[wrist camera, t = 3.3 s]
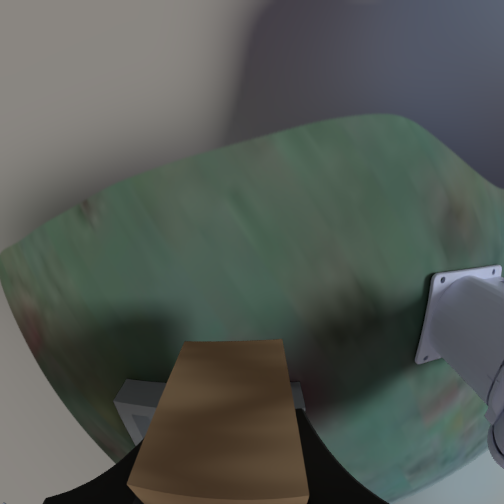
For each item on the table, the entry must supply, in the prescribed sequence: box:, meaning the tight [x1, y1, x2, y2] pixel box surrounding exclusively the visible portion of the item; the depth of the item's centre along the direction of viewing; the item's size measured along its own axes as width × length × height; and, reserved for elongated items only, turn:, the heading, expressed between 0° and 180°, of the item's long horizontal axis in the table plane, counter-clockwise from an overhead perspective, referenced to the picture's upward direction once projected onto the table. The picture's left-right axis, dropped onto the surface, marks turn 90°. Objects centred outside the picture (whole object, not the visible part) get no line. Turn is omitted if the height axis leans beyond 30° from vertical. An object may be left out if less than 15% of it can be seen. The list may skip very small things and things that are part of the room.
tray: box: [113, 379, 306, 446], centre depth 19 cm, size 14×12×3 cm
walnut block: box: [127, 339, 309, 504], centre depth 8 cm, size 4×6×7 cm, turn 3°
